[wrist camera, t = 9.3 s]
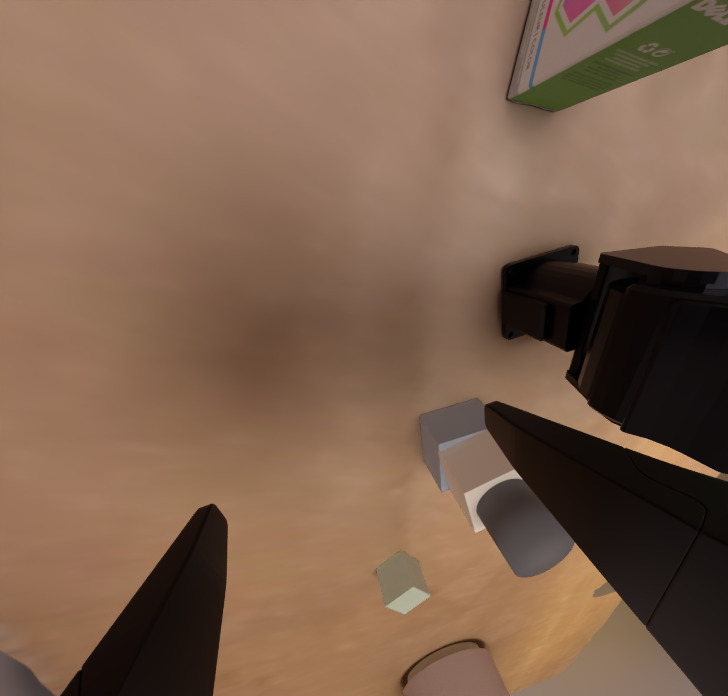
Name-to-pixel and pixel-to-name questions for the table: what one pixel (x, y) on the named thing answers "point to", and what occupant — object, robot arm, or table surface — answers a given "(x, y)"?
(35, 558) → the table surface
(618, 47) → the ink box
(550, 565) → the dark grey cylinder
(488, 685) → the container
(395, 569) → the sage block
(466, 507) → the tower top
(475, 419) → the tower base
